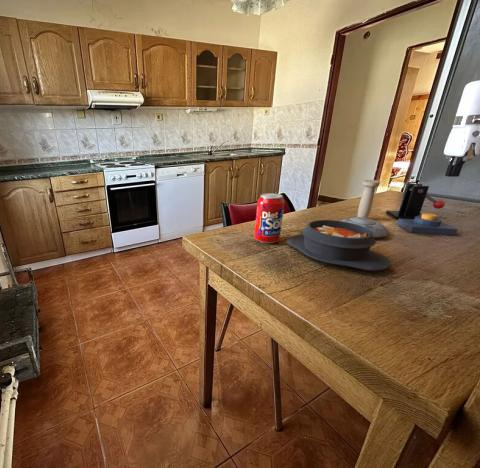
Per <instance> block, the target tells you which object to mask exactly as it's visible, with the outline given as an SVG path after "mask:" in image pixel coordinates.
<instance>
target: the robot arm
mask: <svg viewBox="0 0 480 468" xmlns="http://www.w3.org/2000/svg"><path fill="white" fill-rule="evenodd" d="M443 155H444V156H445V159H447V167H446V171H445V174H444V176H445V177H450V178H453V177H454V178H455V177H456V178H457V177H459V176H460V175H461V172H462V169H463V166H465V165H466V162H469V161H472V159H473V157H478V156H479V155H480V79H479V80H474V81H473V80H472V81H470V82H468V83H467V84H465V86H464V88H463V90H462V95H461V97H460V100H459V103H458V107H457V111H456V113H455V117H454V120H453V123H452V129H451V130H450V132H449V135H448V137H447V140H446V143H445V146H444V150H443Z"/></svg>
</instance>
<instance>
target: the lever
mask: <svg viewBox="0 0 480 468" xmlns="http://www.w3.org/2000/svg"><path fill="white" fill-rule="evenodd" d="M414 186H418V185H414ZM412 188H413V186H412V187H411V188H410V189H409V190H410V191H412ZM425 199H427V200H428V201H429V202H431V203H432V207H433V208H435V209H437V210H439V209H443V208H444V207H445V206H446V202H445V201H444V200H441V199H435V198H433V197H431V196H430V195H429V194H428V193H427V194H426V197H425Z"/></svg>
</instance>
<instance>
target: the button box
mask: <svg viewBox="0 0 480 468" xmlns="http://www.w3.org/2000/svg"><path fill="white" fill-rule="evenodd" d="M396 224H397V225H398V226H399V227H401V228H402V229H404V230H406V231H407V232H409V233H413V234H425V235H426V234H428V235H429V234H430V235H441V236H442V235H445V236H456V235H457V233H458V231H459V229H458V228H456V227H454V226H452V225H450V224H447V223H445V222H444V221H443V220H442V219H441V218H438V217H436V220H425V219H421V216H416V217H415V219H399V220H397V223H396Z"/></svg>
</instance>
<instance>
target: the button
mask: <svg viewBox="0 0 480 468" xmlns="http://www.w3.org/2000/svg"><path fill="white" fill-rule="evenodd" d="M436 218H438V215H437V214H434V213H430V212H429V213H428V212H424V213H422V216H421V219H425V220H436Z"/></svg>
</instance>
